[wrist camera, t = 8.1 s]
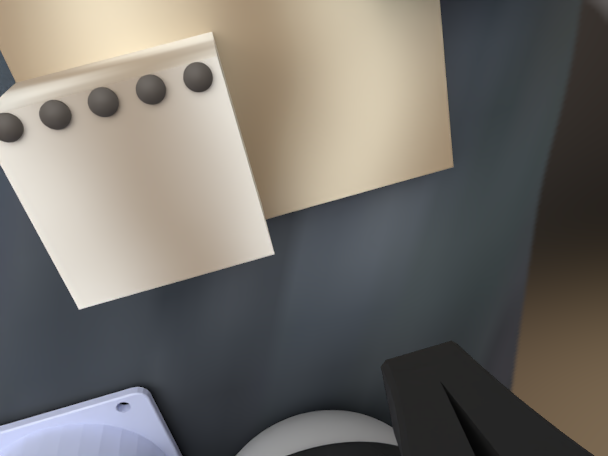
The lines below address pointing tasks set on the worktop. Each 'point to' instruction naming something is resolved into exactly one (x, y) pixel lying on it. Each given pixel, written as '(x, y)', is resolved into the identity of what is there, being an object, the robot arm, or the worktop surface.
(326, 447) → the dark egg-shaped dome
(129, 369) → the worktop surface
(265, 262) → the worktop surface
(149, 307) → the worktop surface
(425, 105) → the board
